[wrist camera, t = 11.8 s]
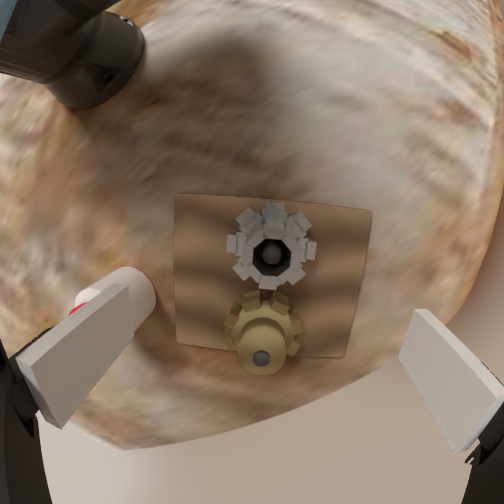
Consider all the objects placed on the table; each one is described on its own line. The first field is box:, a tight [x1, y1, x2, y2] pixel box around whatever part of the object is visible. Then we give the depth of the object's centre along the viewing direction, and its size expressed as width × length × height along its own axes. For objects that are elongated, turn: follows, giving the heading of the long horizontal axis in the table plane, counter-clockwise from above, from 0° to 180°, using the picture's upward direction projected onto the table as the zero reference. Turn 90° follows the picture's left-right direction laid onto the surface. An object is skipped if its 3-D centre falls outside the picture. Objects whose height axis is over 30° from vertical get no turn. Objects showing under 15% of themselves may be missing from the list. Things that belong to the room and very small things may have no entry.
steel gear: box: [226, 200, 317, 290], centre depth 26 cm, size 9×9×7 cm
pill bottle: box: [69, 266, 156, 332], centre depth 29 cm, size 8×8×11 cm
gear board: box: [174, 193, 372, 375], centre depth 28 cm, size 19×22×9 cm
